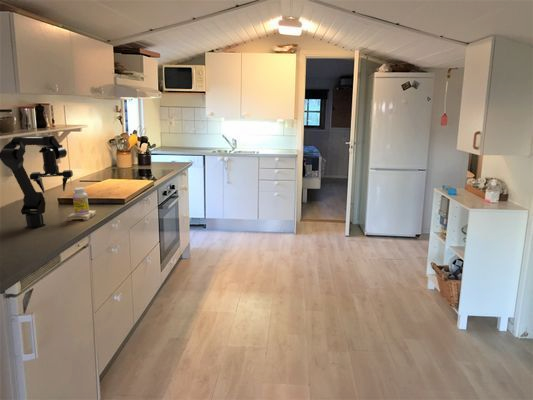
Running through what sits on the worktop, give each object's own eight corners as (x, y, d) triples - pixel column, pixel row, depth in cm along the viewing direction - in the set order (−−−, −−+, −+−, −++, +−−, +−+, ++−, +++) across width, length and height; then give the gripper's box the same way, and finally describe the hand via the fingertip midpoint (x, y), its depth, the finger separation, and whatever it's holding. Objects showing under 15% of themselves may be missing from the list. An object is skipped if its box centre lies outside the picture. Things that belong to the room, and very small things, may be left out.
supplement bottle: (72, 215, 217) (69, 189, 214) (78, 211, 223) (75, 187, 220) (85, 215, 217) (82, 189, 214) (91, 211, 223) (88, 186, 220)
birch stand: (87, 220, 214) (86, 216, 214) (67, 220, 215) (66, 216, 214) (97, 213, 226) (96, 210, 226) (78, 214, 226) (77, 210, 226)
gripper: (72, 157, 225) (76, 187, 229) (32, 159, 220) (36, 190, 224) (69, 160, 215) (73, 191, 219) (27, 162, 210) (32, 194, 214)
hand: (54, 191), depth 219 cm, fingers open, 9 cm apart
